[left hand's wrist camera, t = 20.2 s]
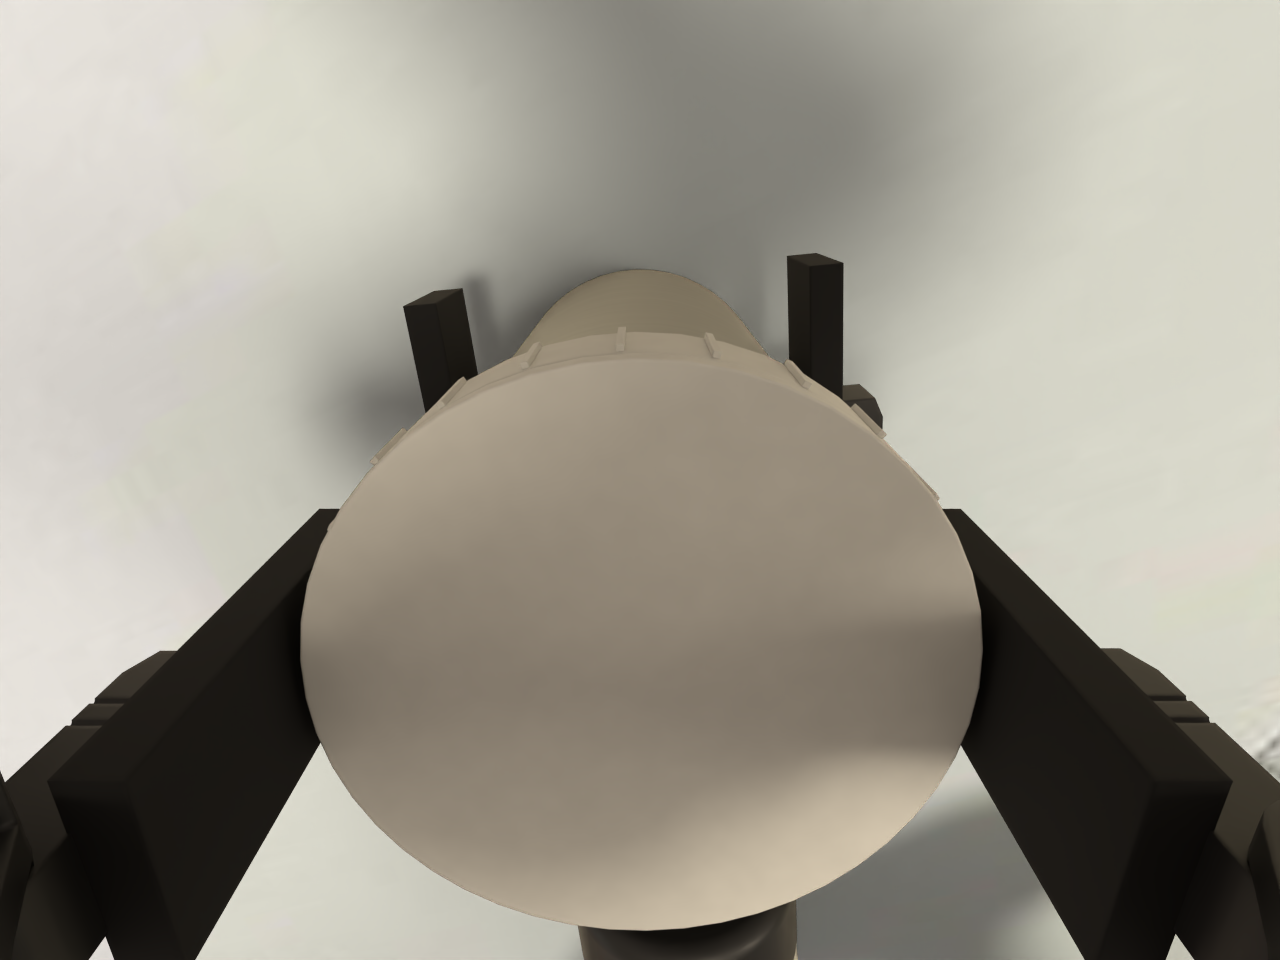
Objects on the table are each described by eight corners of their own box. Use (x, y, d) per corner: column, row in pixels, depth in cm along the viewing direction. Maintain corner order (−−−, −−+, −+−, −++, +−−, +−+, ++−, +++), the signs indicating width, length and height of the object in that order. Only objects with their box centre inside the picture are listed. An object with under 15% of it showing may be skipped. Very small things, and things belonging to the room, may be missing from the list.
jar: (467, 381, 25) (242, 632, 11) (656, 212, 23) (682, 251, 9) (627, 549, 28) (613, 937, 13) (811, 409, 26) (1027, 688, 11)
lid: (1066, 567, 12) (1138, 631, 10) (692, 916, 15) (699, 1013, 13) (563, 178, 10) (548, 176, 8) (242, 674, 13) (179, 751, 11)
